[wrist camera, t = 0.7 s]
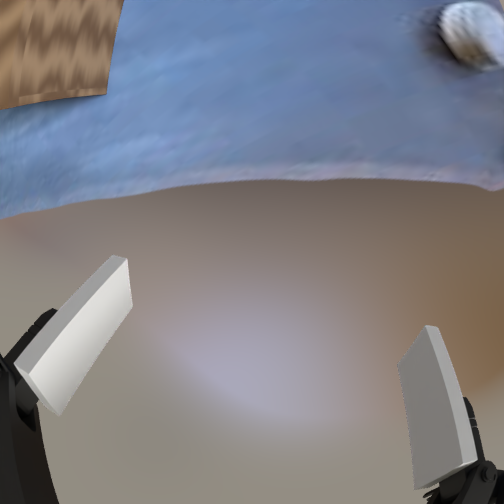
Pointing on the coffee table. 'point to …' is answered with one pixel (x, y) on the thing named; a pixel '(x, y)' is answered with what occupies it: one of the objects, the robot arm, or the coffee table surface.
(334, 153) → the coffee table surface
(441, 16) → the coffee table surface
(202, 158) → the coffee table surface
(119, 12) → the shelf
